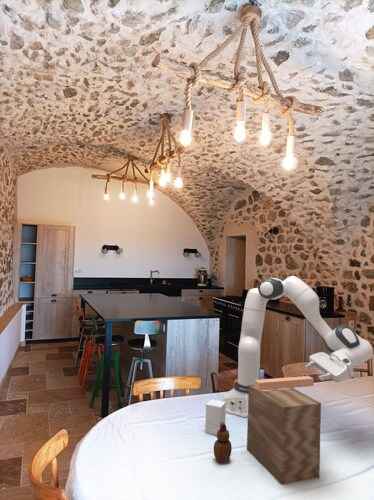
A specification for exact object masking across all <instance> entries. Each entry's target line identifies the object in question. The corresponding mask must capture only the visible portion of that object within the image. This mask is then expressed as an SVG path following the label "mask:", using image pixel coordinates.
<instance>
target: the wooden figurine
mask: <svg viewBox="0 0 374 500" xmlns="http://www.w3.org/2000/svg"><path fill="white" fill-rule="evenodd" d="M232 447H233V446H232V442H231V441H230V431H229V430H228V429H227V425H226V423H225V424H224V422H223V423H221V422H220V430H218V432H217V435H216V440H215V441H214V444H213V455H214V457H215V460H216V462H219V463H227V462H228V461H230V458H231V456H232V451H233V450H232Z"/></svg>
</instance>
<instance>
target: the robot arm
mask: <svg viewBox="0 0 374 500" xmlns="http://www.w3.org/2000/svg"><path fill="white" fill-rule="evenodd" d="M284 296H285V297H287V298H288V299H289V300H290V301H291V302H292V303H293V304H294V305H295V306H296V307H297V308H298V310H299V311H300V312H301V313H302V315H303V316H304V318H305V319H306V321H307V322H308V323H309V325H310V326H311V327H312V328H313V329H314V331H316V333H317V334H318V335H319V336H320V338H321V339H322V340H323V343H324V346H325V347H326V349H327V350H328V351H329V352H330V354H329V353H328V352H323V351H321V352H316V353H313V354H311V355H309V357H308V358H309V359H308V360H309V363H308V364H307V365H305V370H307V371H310V370H311V371H312V368H314V367H315V368H316V369H318V370H319V371H320V372H322V373H323V374H322V373H321V374H319V375H317V378H318V380H319V381H321V382H322V381H324V380H333V382H335V383H342V382H345V381H347V380H349V378H354V377H355V373H354V367H355V366H359V365H361V364H363V363H365V362H367V361H369V360H370V359H371V358H372V357H373V354H374V349H373V346H372V344H371V342H370V341H368V340H367V339H364V338H362V337H361V336H360V335H358V334H357V333H356V332H355V330H354V328H352V327H351V326H350V325H347V324H339V325H337V326H336V327H335V328H334V329H331V327H330V326H329V325H328V324H327V322H326V321H325V320H324V319H323V317H322V316H321V313H320V298H319V295H317V293H316V292H315V291H314V290H313V289H312V288H311V287H310V286H309V285H308V284H307V283H306V282H305V281H303V280H302V279H300V278H299V277H297V276H295V275H291V276H288V277H286V278H285V279H283V280H282V279H281V278H278V277H277V278H276V277H266V278H264V279H262V280H260V282H259V284H258V286H257V287H254V288H250V289H249V290H247V294H246V298H245V300H244V307H243V313H242V320H241V328H240V329H241V331H240V338H239V342H238V347H237V348H238V349H237V353H238V354H237V356H238V357H237V358H238V363H237V364H238V365H237V368H238V369H237V371H238V372H237V379H235V380H234V383H233V388H232V389H230V390H229V391H227V392H225V394H224V396H223V398H222V401H223V402H226V413H227V414H232V415H235V416H238V417H242V418H248V396H249V385H252V384H254V382H255V380H260V371H261V370H260V366H261V363H260V362H261V343H262V342H261V341H262V337H263V336H262V335H263V329H264V322H265V313H266V306H267V303H268V301H270V300H277V299H278V300H279V299H282V298H283V297H284Z"/></svg>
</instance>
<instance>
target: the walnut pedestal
mask: <svg viewBox="0 0 374 500" xmlns="http://www.w3.org/2000/svg"><path fill="white" fill-rule="evenodd" d="M321 414H322V403H321V402H319V401H317V400H316V399H315V398H313V397H310V396H309V395H307V394H305V393H303V392H302V391H299V390H297V389H295V388H284V389H273V390H261V391H259V390H257V389H256V388H254V384H252V385H249V396H248V417H247V430H246V431H247V433H246V450H247V452H249V454H250V455H251V456H252V457H253V458H254V459H256V461H257V462H258V463H259V464H261V465H262V466H263V468H265V470H267V472H268V473H269V474H270V475H271V476H272V477H273V478H274V479H275V480H276V481H277V482H278V483H279V484H280V485H286V484H291V483H296V482H297V481H298V482H302V481H307V479H308V480H311V479H312V478H313V479H316V478H320V474H321V473H320V470H321V469H320V467H321V465H320V464H321V461H320V460H321V425H322V424H321V422H322V421H321V420H322V416H321Z"/></svg>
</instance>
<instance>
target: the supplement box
mask: <svg viewBox="0 0 374 500" xmlns="http://www.w3.org/2000/svg"><path fill="white" fill-rule="evenodd" d="M226 413H227V412H226V402H223V400H217V399H213V398H211V399H210V400H209V401H208V402H206V403H205V428H204V429H205V430H204V433H205V434H209V435H213V436H217V432H218V430H220V422H221V423H223V422H224V424H225V425H226V415H227V414H226Z"/></svg>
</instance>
